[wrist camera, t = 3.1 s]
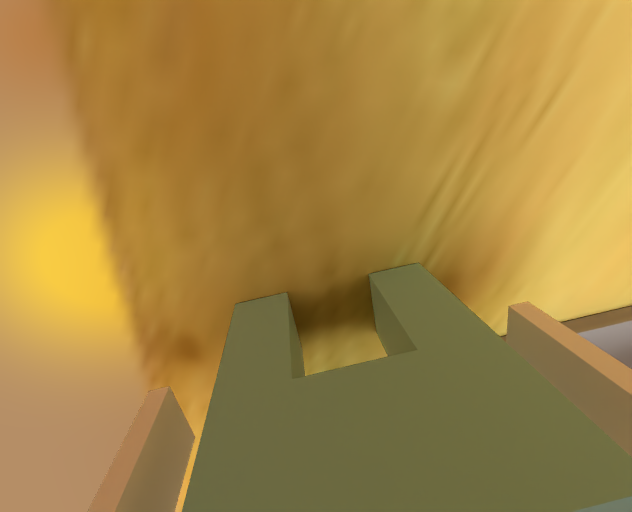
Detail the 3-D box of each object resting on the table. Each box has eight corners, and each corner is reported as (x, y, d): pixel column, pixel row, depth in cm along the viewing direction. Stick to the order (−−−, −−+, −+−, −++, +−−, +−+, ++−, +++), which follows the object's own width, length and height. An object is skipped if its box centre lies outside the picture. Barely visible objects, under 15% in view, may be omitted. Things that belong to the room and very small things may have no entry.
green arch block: (235, 303, 14) (154, 619, 5) (418, 262, 14) (665, 488, 5) (255, 360, 16) (220, 690, 6) (422, 321, 16) (622, 583, 7)
